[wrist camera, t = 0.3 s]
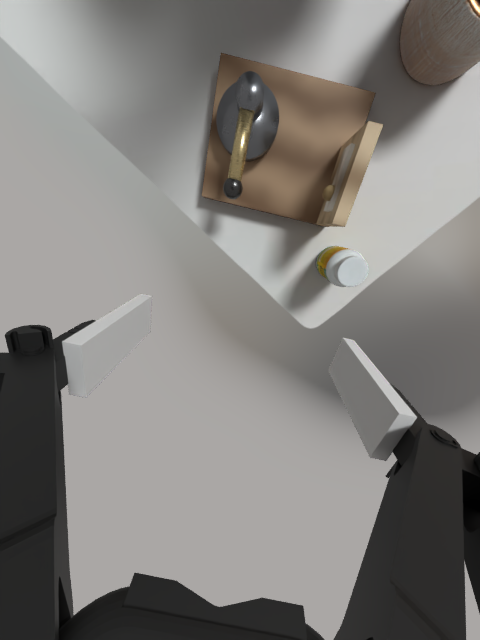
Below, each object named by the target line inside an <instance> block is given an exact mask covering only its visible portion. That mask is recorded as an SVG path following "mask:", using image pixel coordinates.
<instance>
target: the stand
mask: <svg viewBox="0 0 480 640" xmlns="http://www.w3.org/2000/svg"><path fill="white" fill-rule="evenodd" d="M247 71H253V72H256V73H257V74H258V75H259V76H260V77H261V79H262V81H263V83H264V84H265V85H267V86H268V87H269V88H270V90H271V91H272V93H273V94H274V96H275V98H276V101H277V104H278V108H279V125H278V130H277V135H276V138H275V141H274V143H273V145H272V147H271V148H270V149H269V151H268V152H267V153H266V154H265V155H264V156H262V157H261V158H259V159H257V160H254V161H250V162H245V164H244V170H243V175H242V180H241V183H242V186H243V191H242V194H241V195H240V197H239V198H237V199H229V198H227V197H226V196H225V194H224V192H223V184H224V182H225V180H226V179H227V178H228V173H229V167H230V161H231V155H230V154H229V153H228V152H227V151H226V149H225V148H224V146H223V144H222V142H221V139H220V137H219V134H218V130H217V124H216V116H217V109H218V105H219V102H220V100H221V98H222V96H223V94H224V93H225V91H226V90H227V89H228V88H229V87H230V86H231V85H232V84H233V83H235V82H237V80H238V78H239V77H240V76H241V75H242V74H243V73H245V72H247ZM375 94H376V93H375V92H371V91H367V90H363V89H359V88H356V87H352V86H348V85H344V84H340V83H336V82H332V81H328V80H325V79H321V78H317V77H313V76H309V75H305V74H301V73H297V72H294V71H290V70H286V69H282V68H278V67H274V66H270V65H266V64H263V63H259V62H255V61H251V60H247V59H243V58H239V57H235V56H232V55H228V54H224V53H221V56H220V63H219V70H218V78H217V85H216V93H215V100H214V108H213V115H212V123H211V130H210V138H209V145H208V152H207V160H206V167H205V175H204V182H203V190H202V196H203V197H205V198H209V199H213V200H217V201H221V202H225V203H229V204H233V205H238V206H242V207H246V208H250V209H254V210H258V211H262V212H266V213H271V214H275V215H279V216H283V217H287V218H291V219H295V220H299V221H303V222H308V223H312V224H316V225H320V226H324V227H329V226H342V227H345V225H346V223H347V220H348V217H349V215H350V212H351V209H352V207H353V204H354V201H355V199H356V196H357V193H358V191H359V188H360V185H361V183H362V180H363V177H364V175H365V172H366V170H367V167H368V164H369V162H370V159H371V156H372V154H373V151H374V148H375V146H376V143H377V140H378V138H379V135H380V132H381V130H382V127H383V124H379V123H375V122H371V121H368V122H367V123H366V124H365V122H366V119H367V116H368V113H369V111H370V108H371V105H372V102H373V99H374V96H375Z"/></svg>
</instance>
